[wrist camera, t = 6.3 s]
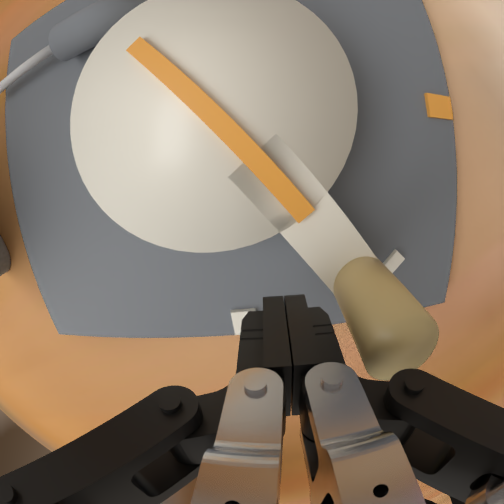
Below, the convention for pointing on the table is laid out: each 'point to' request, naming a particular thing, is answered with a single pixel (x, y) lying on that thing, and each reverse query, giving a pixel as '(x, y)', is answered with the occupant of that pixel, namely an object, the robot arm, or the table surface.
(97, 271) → the panel
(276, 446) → the robot arm
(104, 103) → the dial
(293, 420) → the table surface
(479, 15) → the table surface
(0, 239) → the hip flask
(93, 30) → the screwdriver
